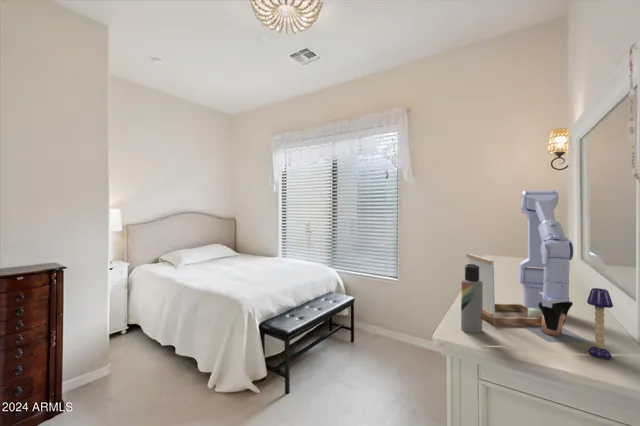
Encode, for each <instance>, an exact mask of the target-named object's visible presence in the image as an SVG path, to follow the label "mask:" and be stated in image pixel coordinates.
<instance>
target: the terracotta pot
mask: <svg viewBox="0 0 640 426" xmlns="http://www.w3.org/2000/svg"><path fill="white" fill-rule="evenodd" d="M542 314H543V313H542ZM565 318H566V319H567V316H566V315H565V314H563V313H562V314H561V316H560V319H559V324H558V328H557V330H556V331H554V330H550V329H547V327H546V323H545V319H544V316H542V323H541V326H540V327H541V331H543V332H545V333H547V334H550V335H553V336H561V335H562V328H564V327H563V326H564V325H563V321H564V320H565ZM565 321H566V320H565Z"/></svg>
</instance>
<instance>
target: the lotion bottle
mask: <svg viewBox="0 0 640 426" xmlns="http://www.w3.org/2000/svg"><path fill="white" fill-rule="evenodd" d="M460 286H461V287H460V288H461V289H460V290H461V291H460V292H461V294H460V296H461V297H460V302H461V304H460V305H461V306H460V316H461V317H460V328H461V330H462V331H463V332H465V333H468V334H470V333H471V334H480V333H482V332H483V317H482V307H483V282H482V281H479V266H477V265H474V264H469V263H467V264H465V265H464V278H462V279H461V285H460Z"/></svg>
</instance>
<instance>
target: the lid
mask: <svg viewBox="0 0 640 426" xmlns="http://www.w3.org/2000/svg"><path fill="white" fill-rule="evenodd" d="M465 257H466V259H468V264H474V265H477V266H479V281H482V282H483V307H482V313H484V314H486V315H487V316H489V317H490V318H495V304H496V302H495V299H496V298H495V267H494V266H495V263H494V262H495V261H494V260H492V259H490V258H486V257H482V256H479V255H475V254H472V253H466V254H465Z"/></svg>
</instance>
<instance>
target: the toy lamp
mask: <svg viewBox="0 0 640 426" xmlns="http://www.w3.org/2000/svg"><path fill="white" fill-rule="evenodd" d="M586 303H587V304H588V305H589V306H590V305H591V306H593V307H594V310H595V312H594V315H595V317H594V322H595V323H594V329H595V330H594V333H595V334H594V335H595V336H594V337H595V338H594V339H595V346H591V347H590V348H589V349H588V353H589V355H591V356H592V355H593V356H592V357H596V358H598V357H599V358H598V359H602V358H604V359H603V360H611V359H612V358H613V356H612V354H611V353H610V351H608V350H607V349H606V348H605V347H606V345H605V340H606V339H605V335H606V334H605V325H604V323H605V312H604V311H605V308H606V309H611V308H613V307H614V305H613V304H614V303H613V301H612V299H611V295H610V293H609V290H608V289H604V288H599V287H598V288H597V287H594V288H591V290H590V292H589V295H588V298H587V302H586Z"/></svg>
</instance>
